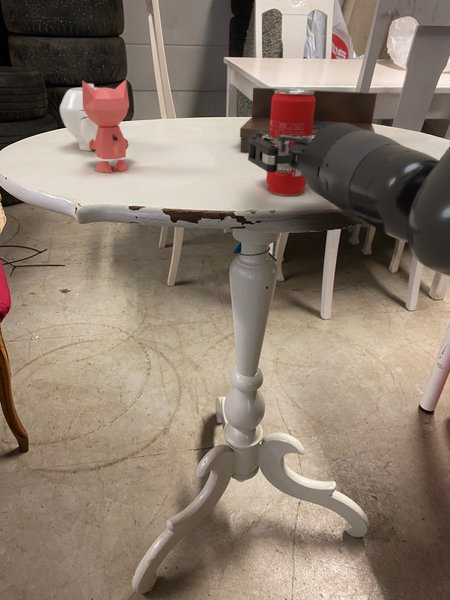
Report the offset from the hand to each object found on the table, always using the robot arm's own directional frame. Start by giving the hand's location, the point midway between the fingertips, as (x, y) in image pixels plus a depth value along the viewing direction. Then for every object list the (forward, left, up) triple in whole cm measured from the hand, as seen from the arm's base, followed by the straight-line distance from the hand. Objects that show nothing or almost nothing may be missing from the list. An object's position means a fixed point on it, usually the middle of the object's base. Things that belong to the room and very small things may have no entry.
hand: (288, 137), depth 59 cm
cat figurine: (+15, -20, -7) cm, 26 cm away
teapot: (+12, -35, -7) cm, 38 cm away
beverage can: (0, +1, -7) cm, 7 cm away
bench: (-20, -16, -7) cm, 27 cm away
